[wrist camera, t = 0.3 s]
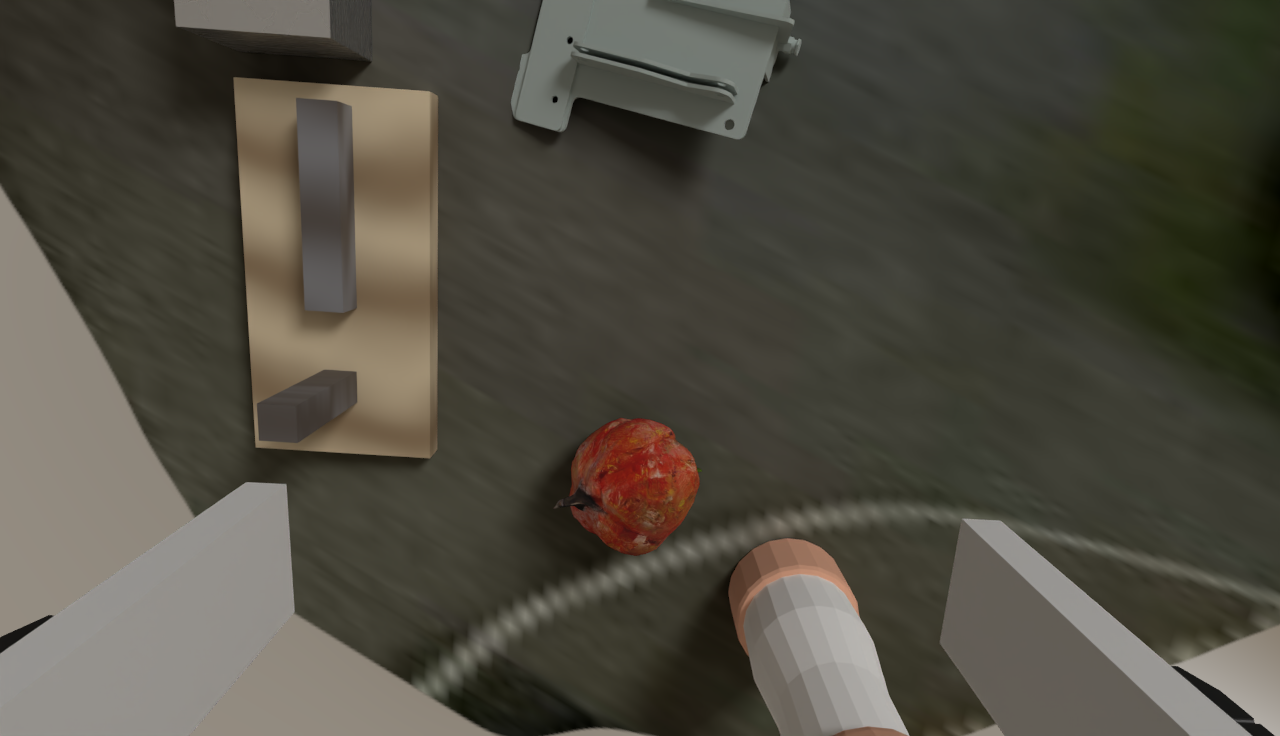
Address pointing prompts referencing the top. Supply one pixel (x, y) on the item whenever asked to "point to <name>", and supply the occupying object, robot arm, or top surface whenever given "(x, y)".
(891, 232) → the top surface
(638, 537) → the pomegranate
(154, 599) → the robot arm
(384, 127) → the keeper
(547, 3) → the metal bracket
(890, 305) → the top surface
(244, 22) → the grey square socket block
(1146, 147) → the top surface
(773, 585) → the pepper shaker
